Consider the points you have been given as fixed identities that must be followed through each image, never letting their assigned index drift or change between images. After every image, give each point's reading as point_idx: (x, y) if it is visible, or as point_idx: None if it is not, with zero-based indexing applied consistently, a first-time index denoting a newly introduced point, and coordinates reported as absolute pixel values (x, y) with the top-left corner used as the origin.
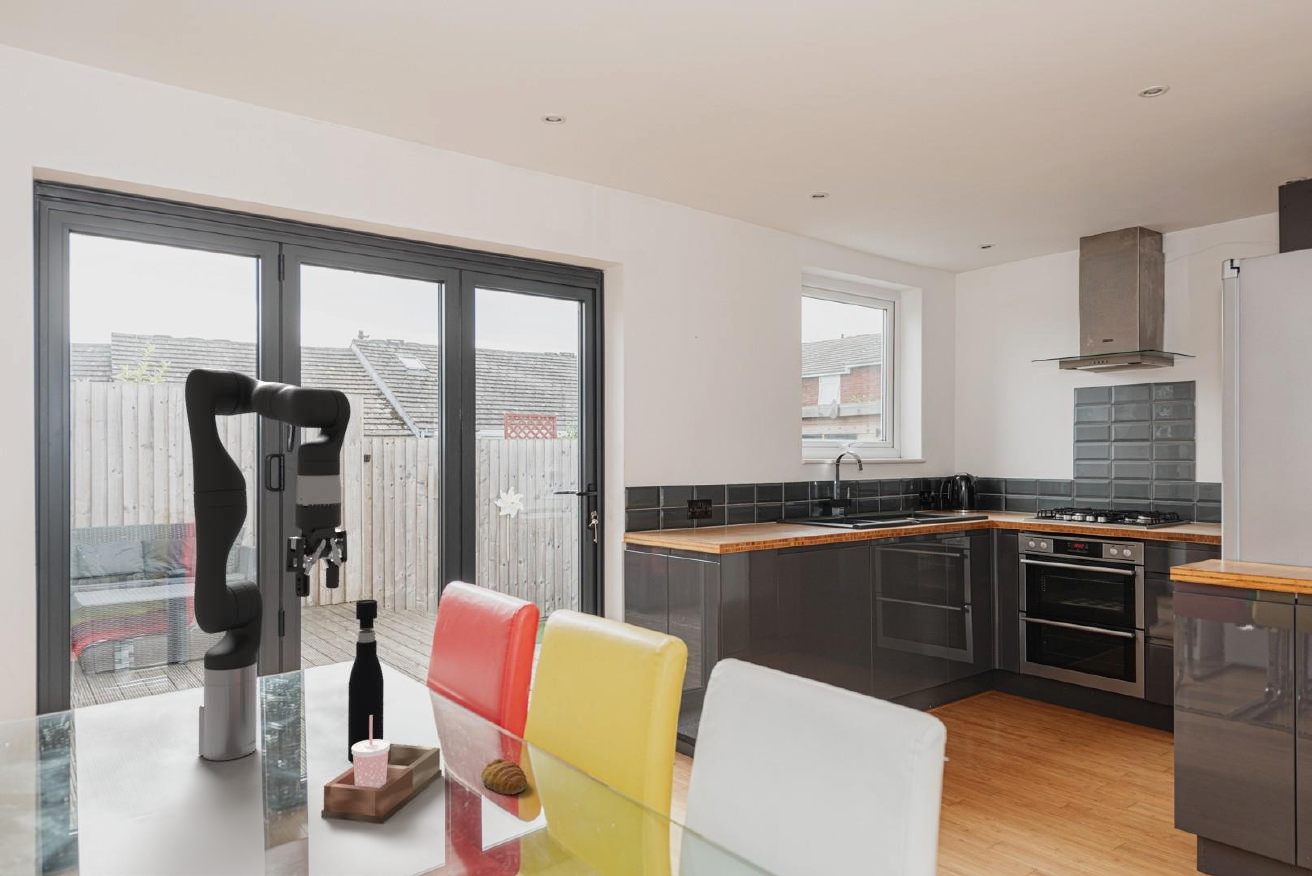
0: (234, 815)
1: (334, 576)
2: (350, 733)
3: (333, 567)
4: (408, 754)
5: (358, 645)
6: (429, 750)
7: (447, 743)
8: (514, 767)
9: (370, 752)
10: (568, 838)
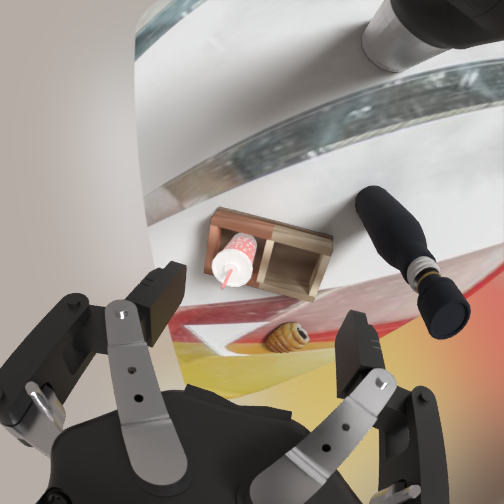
0: (219, 123)
1: (341, 364)
2: (367, 199)
3: (348, 389)
4: (316, 270)
5: (407, 258)
6: (309, 293)
7: (397, 279)
8: (287, 350)
9: (213, 273)
10: (205, 363)
